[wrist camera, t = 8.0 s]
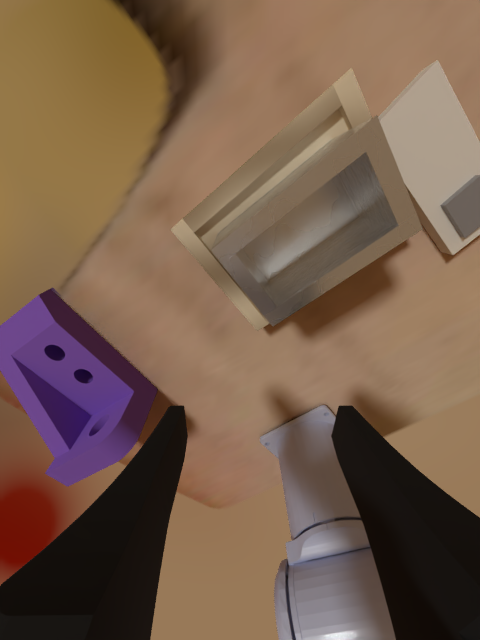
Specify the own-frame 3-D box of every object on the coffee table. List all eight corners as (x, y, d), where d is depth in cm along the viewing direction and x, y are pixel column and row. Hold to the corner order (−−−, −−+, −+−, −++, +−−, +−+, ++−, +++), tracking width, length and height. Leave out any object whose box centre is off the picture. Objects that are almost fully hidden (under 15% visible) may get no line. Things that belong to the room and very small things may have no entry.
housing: (369, 218, 16) (422, 228, 11) (263, 292, 18) (272, 326, 13) (331, 139, 14) (377, 115, 9) (217, 233, 16) (210, 250, 11)
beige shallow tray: (398, 222, 17) (417, 226, 15) (255, 319, 20) (257, 331, 19) (336, 83, 14) (351, 67, 12) (177, 225, 17) (170, 229, 15)
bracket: (158, 386, 24) (132, 454, 18) (107, 415, 26) (67, 486, 19) (52, 287, 19) (-32, 332, 13) (-2, 330, 21) (-100, 388, 15)
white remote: (417, 72, 14) (443, 55, 12) (490, 206, 17) (519, 208, 15) (357, 137, 15) (373, 130, 14) (436, 250, 19) (457, 256, 17)
